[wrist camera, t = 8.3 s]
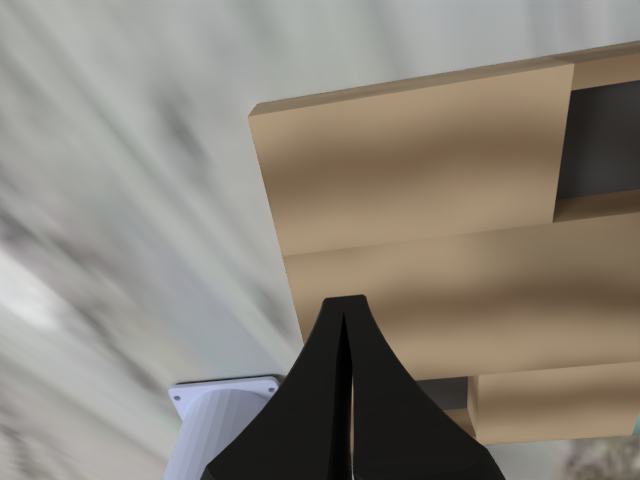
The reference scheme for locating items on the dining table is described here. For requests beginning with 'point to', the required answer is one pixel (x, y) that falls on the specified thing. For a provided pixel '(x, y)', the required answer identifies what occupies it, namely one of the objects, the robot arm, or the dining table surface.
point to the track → (478, 233)
